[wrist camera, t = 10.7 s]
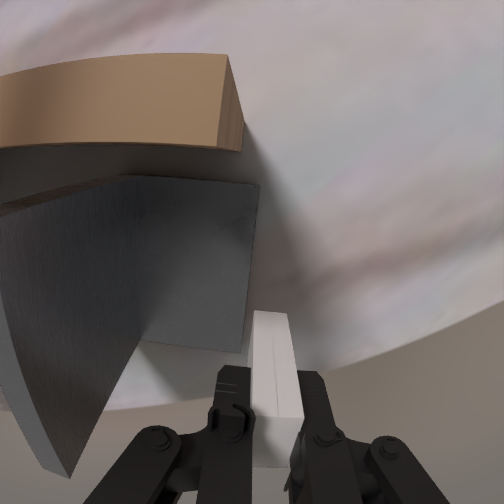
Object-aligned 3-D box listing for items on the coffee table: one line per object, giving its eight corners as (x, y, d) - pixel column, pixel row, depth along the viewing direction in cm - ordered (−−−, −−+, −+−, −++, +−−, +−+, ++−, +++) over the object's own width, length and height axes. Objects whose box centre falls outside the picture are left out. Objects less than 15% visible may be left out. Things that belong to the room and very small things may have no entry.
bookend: (124, 330, 23) (42, 468, 10) (121, 174, 20) (-39, 217, 6) (240, 347, 24) (231, 514, 10) (259, 185, 20) (273, 250, 7)
